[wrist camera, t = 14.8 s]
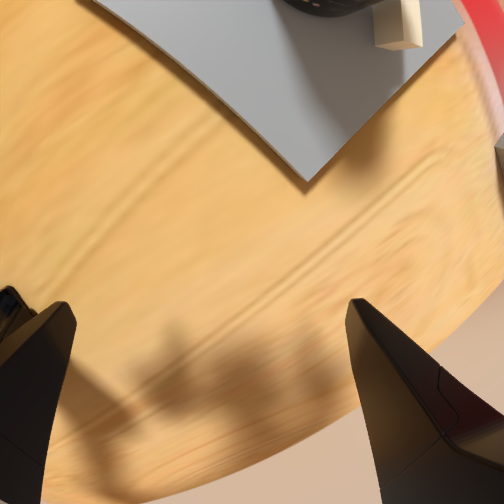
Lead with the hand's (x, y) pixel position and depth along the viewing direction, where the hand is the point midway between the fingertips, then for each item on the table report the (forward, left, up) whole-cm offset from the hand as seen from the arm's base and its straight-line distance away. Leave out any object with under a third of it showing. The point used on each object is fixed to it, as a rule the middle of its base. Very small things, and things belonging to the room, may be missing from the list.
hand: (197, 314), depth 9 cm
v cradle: (+12, +12, -11) cm, 20 cm away
